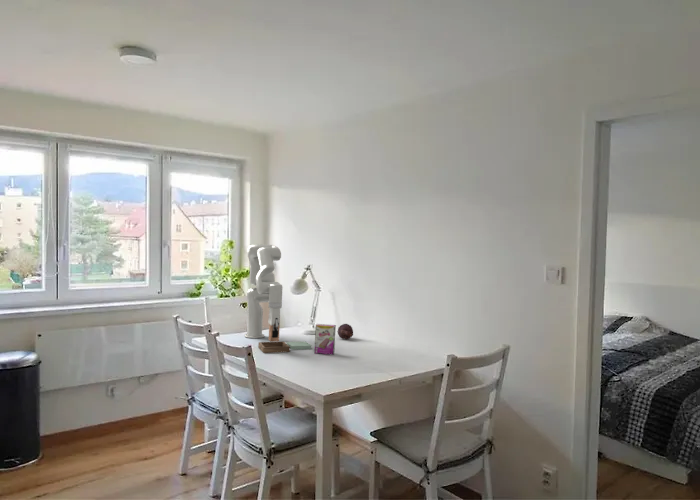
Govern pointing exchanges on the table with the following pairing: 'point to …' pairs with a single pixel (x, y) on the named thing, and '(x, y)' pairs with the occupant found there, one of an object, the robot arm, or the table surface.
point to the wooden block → (271, 333)
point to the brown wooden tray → (273, 347)
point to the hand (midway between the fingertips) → (273, 336)
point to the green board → (299, 345)
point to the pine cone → (345, 331)
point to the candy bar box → (325, 339)
